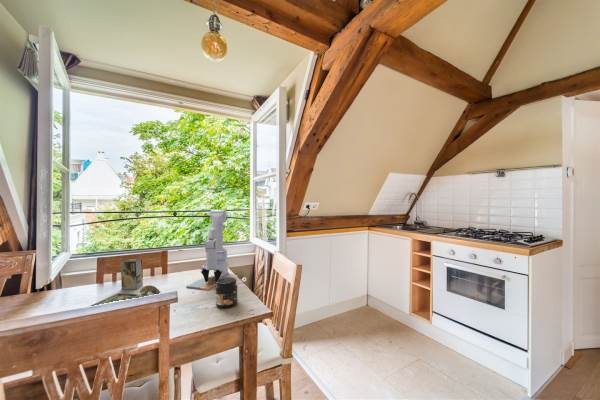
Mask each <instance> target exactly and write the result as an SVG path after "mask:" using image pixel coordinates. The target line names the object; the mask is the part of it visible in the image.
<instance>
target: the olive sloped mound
mask: <svg viewBox="0 0 600 400" xmlns="http://www.w3.org/2000/svg"><path fill="white" fill-rule="evenodd" d="M159 293H161V294H162V291H161V290H159V288H157V287H156V286H154V285H145V286H142V288H141V289H140V290H139V292H138V294H137V293H120V292H119V293H115V294H113V295H111V296H109V297H108V296H107V297H106V298H104V299H102V300H100V301H98V302H96V303H93V304H91V305H90V306H94V305H99V304H104V303H109V302H113V301H119V300H126V299H132V298H139V297H144V296H149V295H154V294H159Z"/></svg>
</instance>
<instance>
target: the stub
mask: <svg viewBox="0 0 600 400" xmlns="http://www.w3.org/2000/svg"><path fill="white" fill-rule="evenodd" d="M215 287H217V286H216V282H215V276H211V275H210V276H209V278H208V284H206V285H204V286H202V287H200V289H199V290H203V291H209V290H211V289H212V288H215Z"/></svg>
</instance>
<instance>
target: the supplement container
mask: <svg viewBox="0 0 600 400" xmlns="http://www.w3.org/2000/svg"><path fill="white" fill-rule="evenodd" d="M238 287H239V286H238V284H237V278H235V277H231V276H230V277H229V276H227V277H220V278H219V280H217V281H216V286H215V287H214V289H215V290H214V291H215V306H216V307H217V308H219V309H229V308H233V307H234V306H236V305H237V304H238V302H239V299H238V296H239V295H238Z"/></svg>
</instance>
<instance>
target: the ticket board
mask: <svg viewBox="0 0 600 400" xmlns="http://www.w3.org/2000/svg"><path fill="white" fill-rule="evenodd" d="M206 284H208V282H205V279H204V277H202V278H201V279H198V280H196V281H194V282H192V283H189V284H188V285H186V289H193V290H201V289H200V287H202V286H204V285H206Z"/></svg>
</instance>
